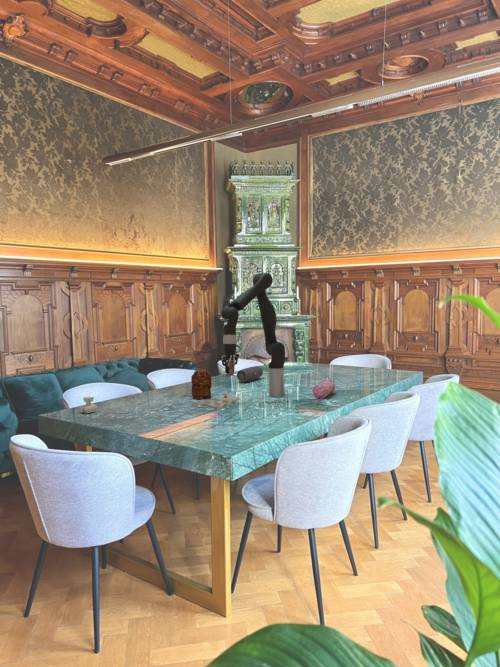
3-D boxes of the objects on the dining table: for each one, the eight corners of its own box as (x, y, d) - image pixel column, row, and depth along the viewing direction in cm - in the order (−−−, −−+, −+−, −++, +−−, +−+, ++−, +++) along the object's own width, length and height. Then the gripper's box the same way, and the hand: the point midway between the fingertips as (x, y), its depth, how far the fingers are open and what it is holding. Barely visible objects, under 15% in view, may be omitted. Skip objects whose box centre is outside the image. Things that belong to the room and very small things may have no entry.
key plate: (229, 397, 274) (229, 390, 273) (239, 399, 269) (239, 391, 269) (220, 400, 267) (220, 392, 267) (231, 401, 262) (230, 394, 262)
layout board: (215, 400, 267) (215, 398, 267) (234, 403, 258) (234, 400, 258) (199, 405, 256) (199, 402, 256) (218, 408, 247) (218, 405, 247)
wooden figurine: (195, 400, 268) (194, 370, 266) (191, 398, 273) (190, 369, 272) (213, 398, 274) (212, 368, 273) (208, 396, 279) (208, 367, 278)
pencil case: (322, 392, 286) (322, 378, 285) (336, 393, 282) (336, 378, 281) (311, 398, 267) (311, 383, 266) (326, 400, 263) (326, 384, 262)
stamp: (93, 410, 249) (93, 394, 248) (99, 411, 244) (99, 396, 244) (78, 413, 243) (77, 397, 242) (83, 415, 238) (83, 399, 237)
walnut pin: (229, 374, 259) (229, 360, 258) (234, 375, 256) (234, 361, 256) (224, 375, 255) (224, 361, 255) (230, 376, 253) (230, 361, 252)
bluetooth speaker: (247, 384, 318) (246, 369, 318) (236, 382, 323) (235, 369, 323) (263, 379, 337) (263, 365, 336) (253, 378, 342) (253, 364, 342)
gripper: (226, 343, 247) (227, 375, 248) (242, 342, 258) (242, 371, 259) (216, 343, 251) (216, 373, 252) (232, 341, 263) (232, 370, 264)
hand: (229, 372), depth 256 cm, fingers closed on walnut pin, 4 cm apart
